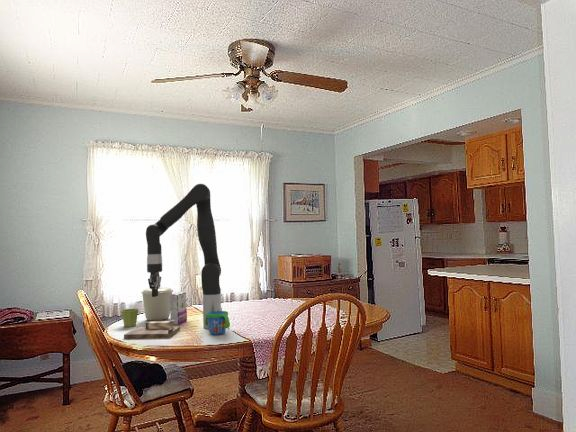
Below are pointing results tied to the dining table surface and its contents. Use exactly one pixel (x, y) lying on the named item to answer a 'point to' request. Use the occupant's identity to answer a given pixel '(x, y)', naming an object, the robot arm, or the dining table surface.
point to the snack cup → (217, 322)
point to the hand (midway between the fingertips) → (155, 296)
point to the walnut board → (151, 333)
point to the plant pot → (129, 317)
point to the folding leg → (160, 324)
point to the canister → (157, 304)
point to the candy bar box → (178, 307)
